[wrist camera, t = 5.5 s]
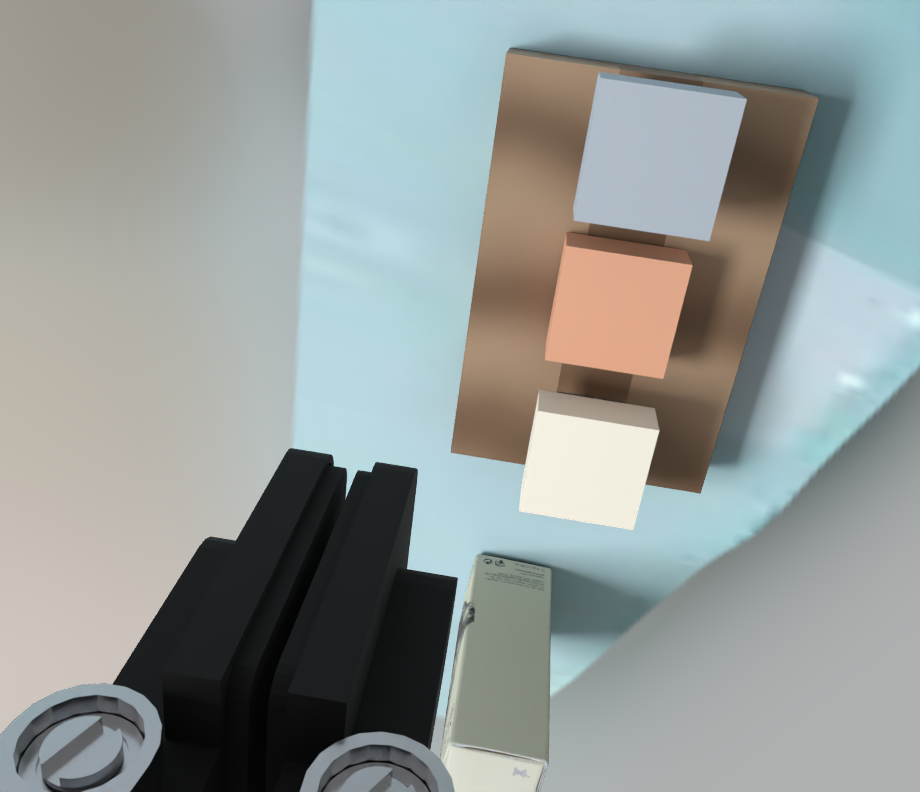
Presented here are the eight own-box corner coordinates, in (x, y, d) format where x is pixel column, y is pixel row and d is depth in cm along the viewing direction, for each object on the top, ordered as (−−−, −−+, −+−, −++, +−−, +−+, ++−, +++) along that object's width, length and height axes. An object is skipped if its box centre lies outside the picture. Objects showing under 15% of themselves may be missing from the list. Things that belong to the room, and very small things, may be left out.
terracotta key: (566, 216, 38) (566, 245, 34) (679, 233, 38) (692, 265, 34) (546, 321, 40) (544, 360, 36) (653, 338, 40) (663, 379, 36)
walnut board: (509, 47, 35) (506, 53, 33) (802, 90, 35) (819, 98, 33) (456, 427, 44) (450, 452, 41) (693, 466, 43) (700, 493, 41)
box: (475, 548, 47) (447, 737, 35) (555, 566, 47) (552, 760, 35) (458, 622, 49) (426, 821, 38) (533, 638, 49) (524, 843, 38)
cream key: (540, 365, 39) (537, 410, 35) (649, 383, 39) (659, 430, 35) (523, 458, 42) (518, 511, 38) (626, 475, 41) (633, 530, 37)
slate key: (596, 64, 33) (600, 77, 29) (725, 83, 33) (746, 99, 29) (572, 192, 36) (573, 220, 32) (693, 210, 36) (709, 241, 32)
